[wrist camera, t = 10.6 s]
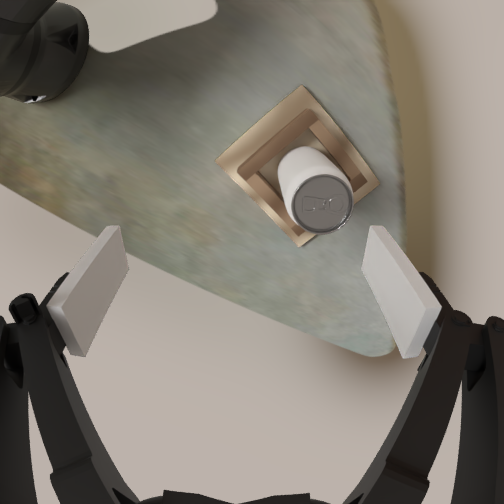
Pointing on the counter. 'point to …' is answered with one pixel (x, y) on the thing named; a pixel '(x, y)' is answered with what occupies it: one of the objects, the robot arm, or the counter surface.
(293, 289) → the counter surface
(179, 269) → the counter surface
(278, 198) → the keeper board
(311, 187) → the can
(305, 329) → the counter surface
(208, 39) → the counter surface
